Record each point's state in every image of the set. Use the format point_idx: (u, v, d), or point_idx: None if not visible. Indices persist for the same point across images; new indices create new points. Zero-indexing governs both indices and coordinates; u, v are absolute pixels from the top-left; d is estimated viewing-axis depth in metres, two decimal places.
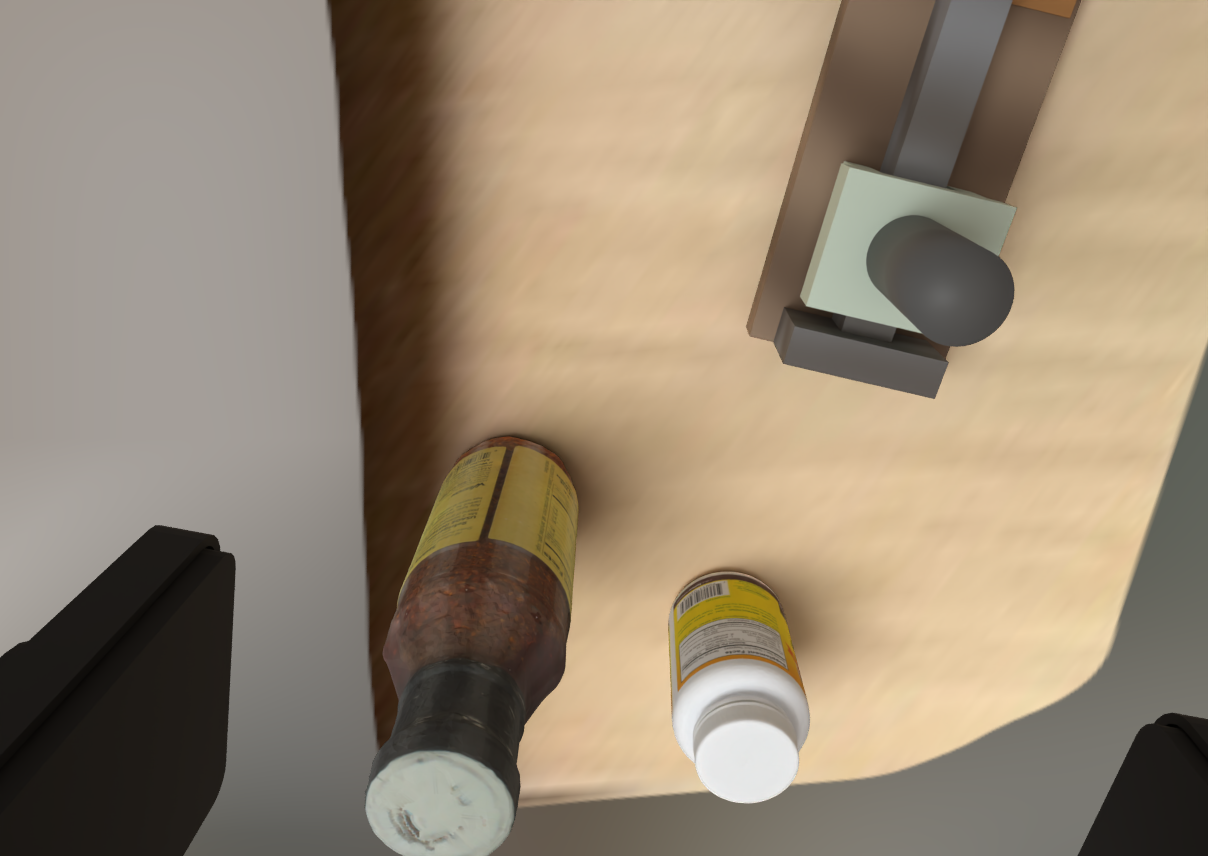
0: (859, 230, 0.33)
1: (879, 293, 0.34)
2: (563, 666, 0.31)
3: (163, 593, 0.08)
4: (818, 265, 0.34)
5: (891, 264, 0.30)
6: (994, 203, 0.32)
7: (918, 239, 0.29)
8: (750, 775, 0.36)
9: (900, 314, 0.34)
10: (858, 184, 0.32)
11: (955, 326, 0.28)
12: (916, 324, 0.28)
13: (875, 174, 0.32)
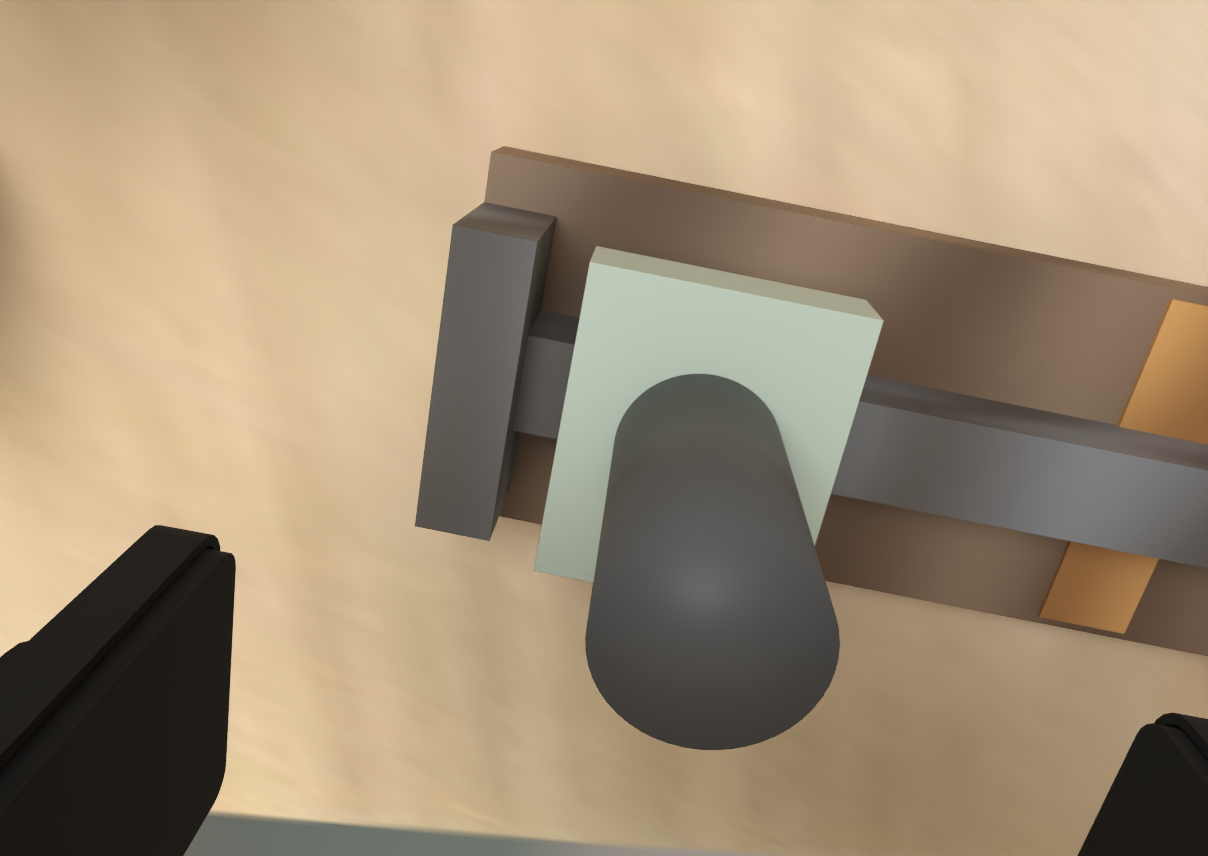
0: (753, 353, 0.16)
1: (623, 407, 0.17)
2: None
3: (163, 593, 0.08)
4: (678, 278, 0.16)
5: (732, 447, 0.13)
6: None
7: (797, 500, 0.13)
8: None
9: (583, 451, 0.17)
10: (848, 342, 0.16)
11: (636, 642, 0.11)
12: (638, 556, 0.11)
13: (865, 371, 0.16)
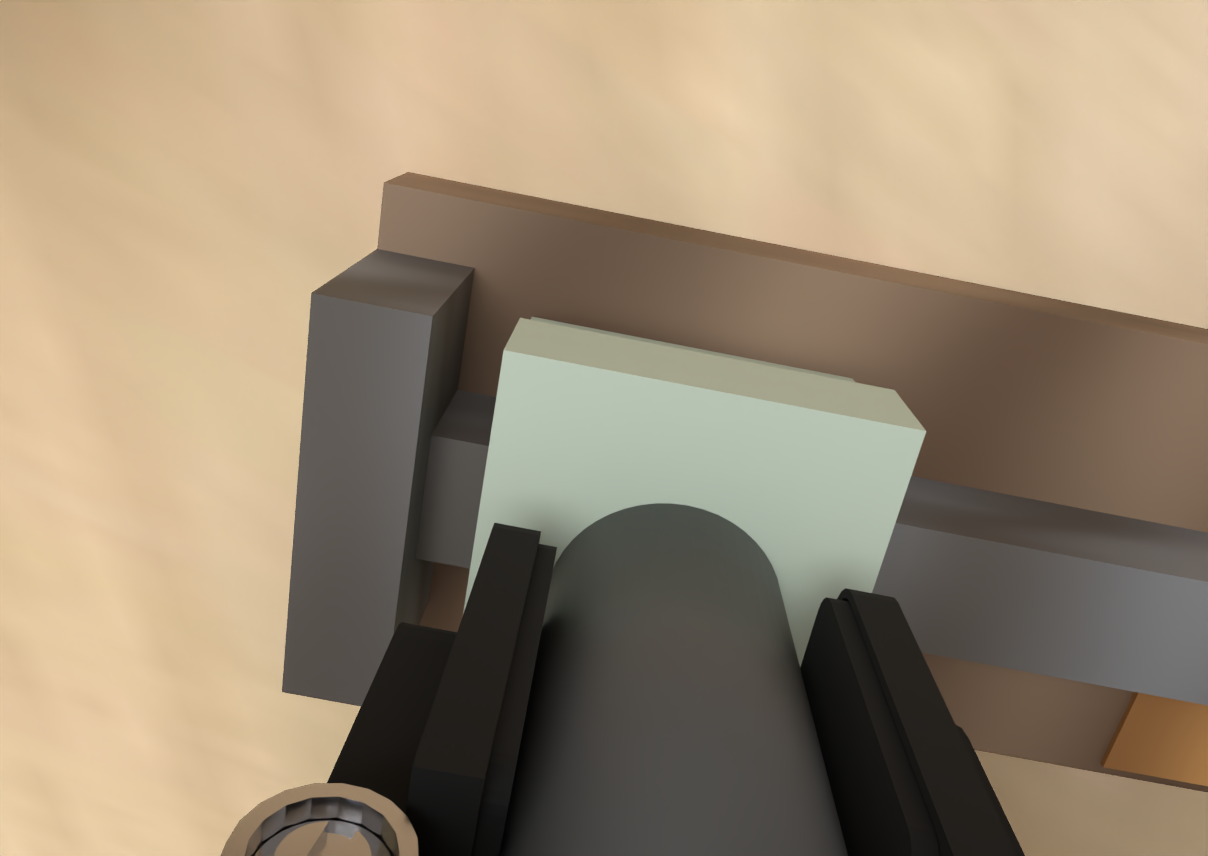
0: (740, 476, 0.11)
1: (558, 547, 0.12)
2: None
3: (531, 581, 0.09)
4: (631, 372, 0.11)
5: (711, 667, 0.08)
6: None
7: (813, 750, 0.08)
8: None
9: None
10: (875, 460, 0.11)
11: None
12: None
13: (899, 500, 0.11)
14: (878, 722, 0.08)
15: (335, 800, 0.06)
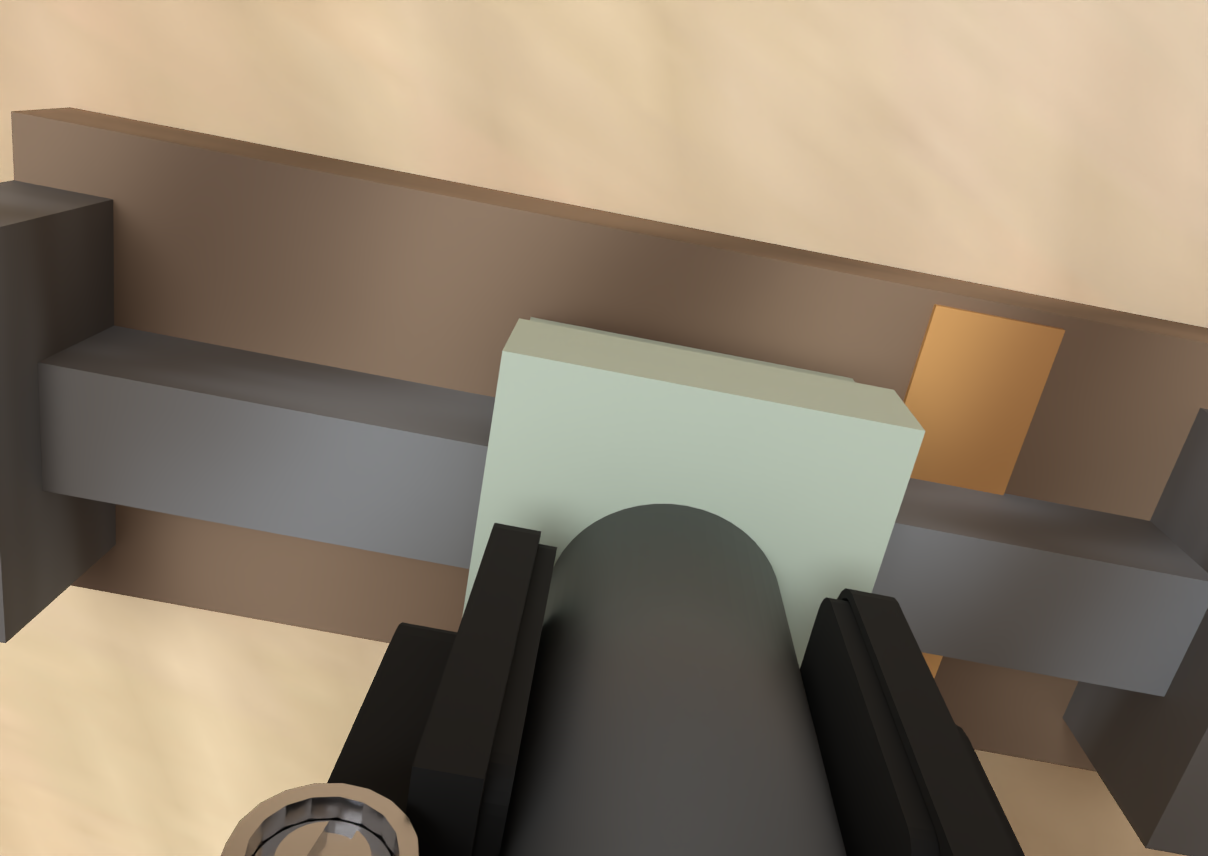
0: (739, 477, 0.11)
1: (557, 548, 0.12)
2: None
3: (531, 581, 0.09)
4: (630, 373, 0.11)
5: (710, 668, 0.08)
6: None
7: (812, 752, 0.08)
8: None
9: None
10: (874, 461, 0.11)
11: None
12: None
13: (898, 500, 0.11)
14: (878, 722, 0.08)
15: (335, 800, 0.06)
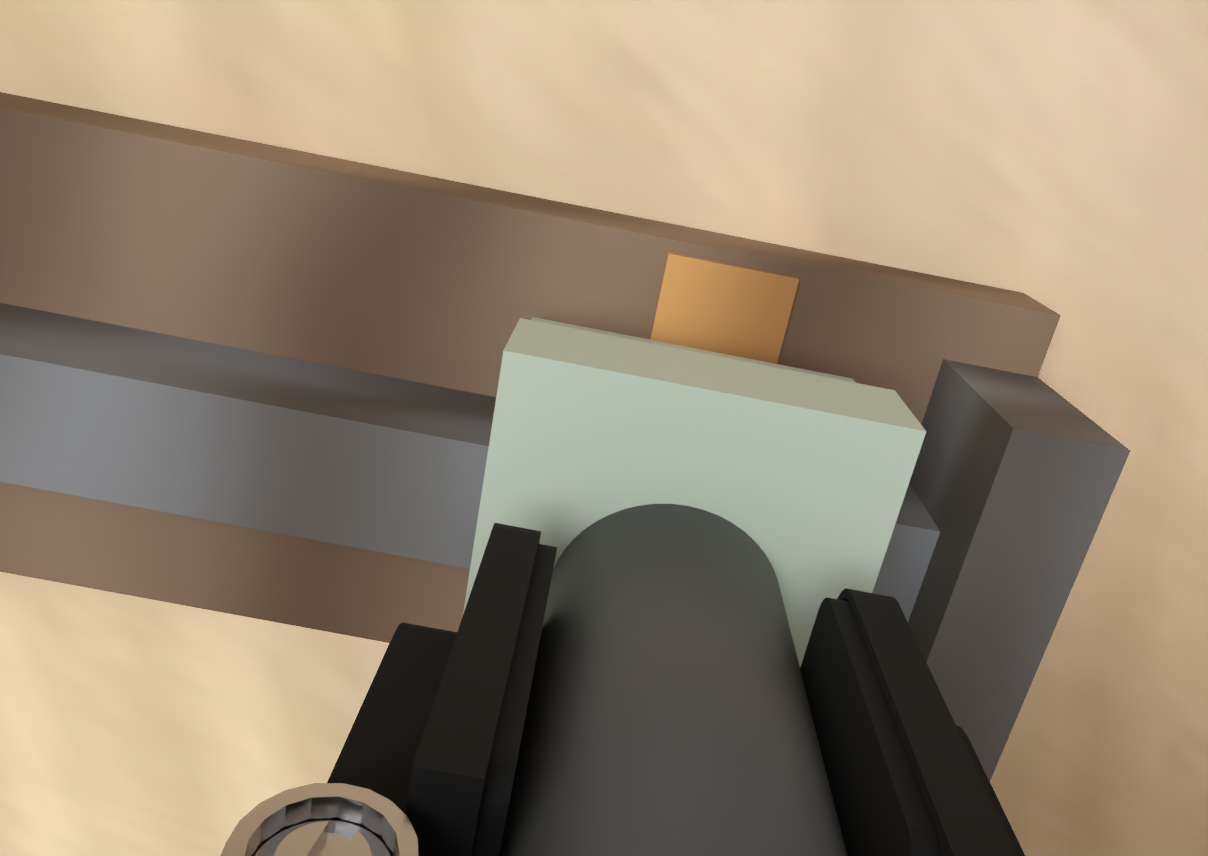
0: (740, 477, 0.11)
1: (558, 548, 0.12)
2: None
3: (531, 581, 0.09)
4: (631, 373, 0.11)
5: (710, 668, 0.08)
6: None
7: (813, 752, 0.08)
8: None
9: None
10: (875, 461, 0.11)
11: None
12: None
13: (899, 501, 0.11)
14: (878, 722, 0.08)
15: (336, 800, 0.06)
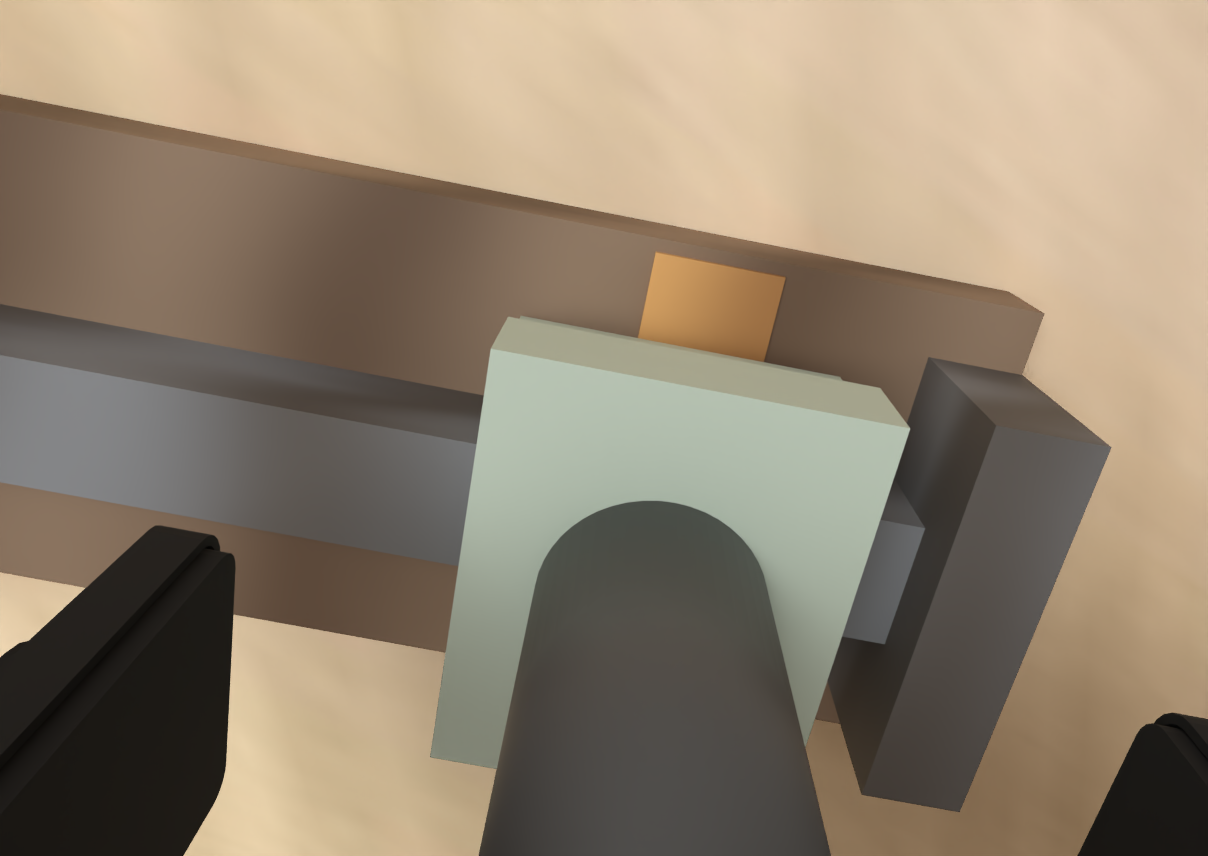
0: (726, 474, 0.11)
1: (546, 545, 0.12)
2: None
3: (163, 593, 0.08)
4: (618, 370, 0.11)
5: (695, 661, 0.08)
6: None
7: (796, 745, 0.08)
8: None
9: (491, 604, 0.12)
10: (859, 458, 0.11)
11: None
12: None
13: (884, 497, 0.11)
14: None
15: None
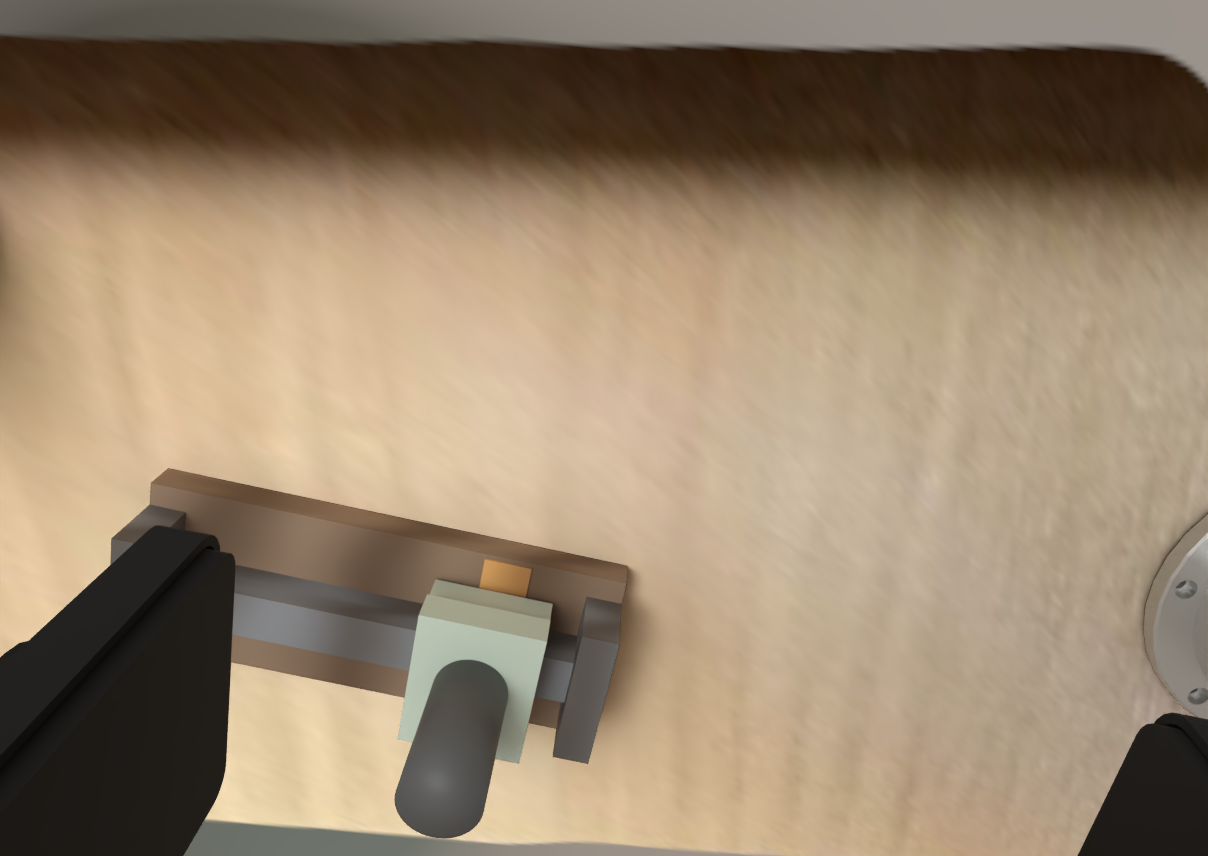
0: (492, 652, 0.36)
1: (436, 671, 0.37)
2: None
3: (164, 593, 0.08)
4: (457, 621, 0.36)
5: (463, 715, 0.33)
6: (521, 747, 0.38)
7: (487, 737, 0.33)
8: None
9: (418, 689, 0.37)
10: (532, 649, 0.36)
11: (413, 801, 0.31)
12: (411, 773, 0.31)
13: (541, 661, 0.36)
14: None
15: None
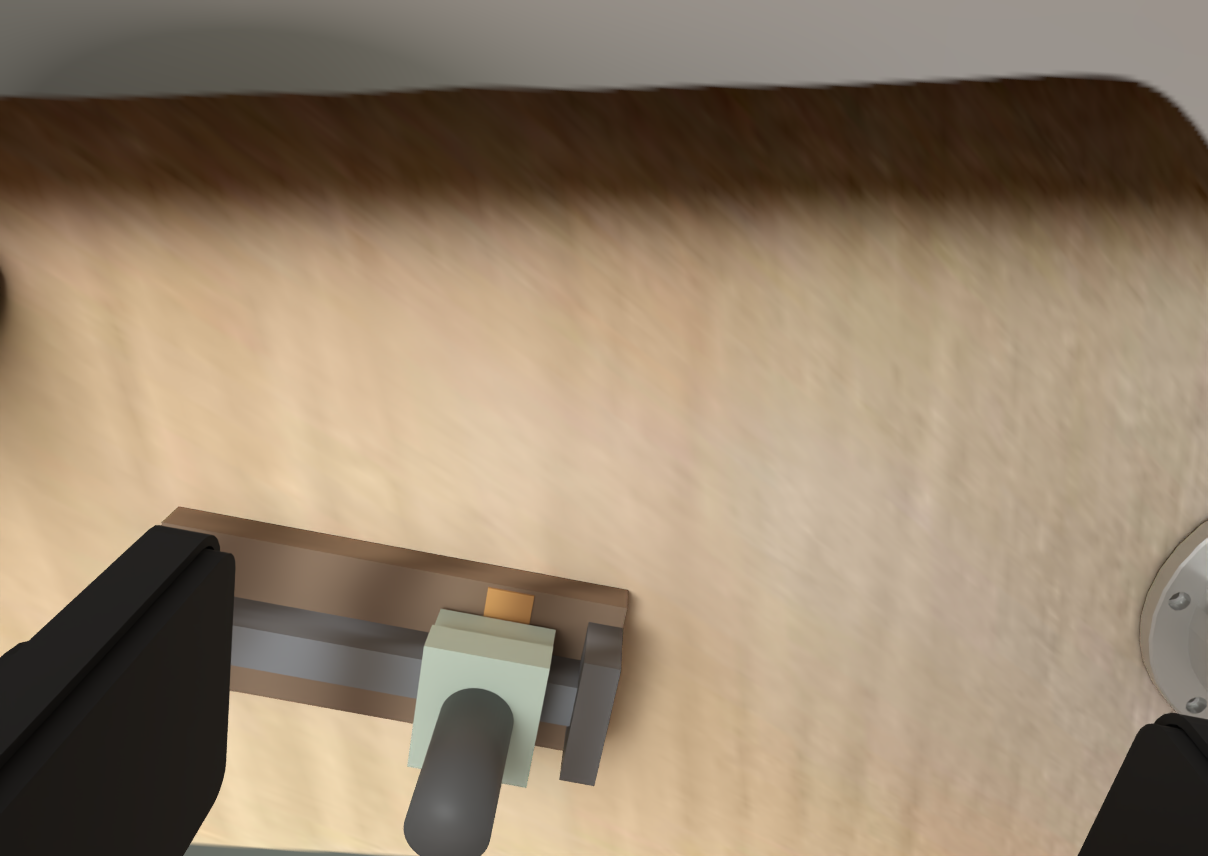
0: (496, 680, 0.37)
1: (442, 700, 0.38)
2: None
3: (163, 593, 0.08)
4: (462, 651, 0.37)
5: (469, 744, 0.34)
6: (528, 772, 0.39)
7: (492, 765, 0.34)
8: None
9: (426, 718, 0.38)
10: (535, 676, 0.37)
11: (421, 830, 0.32)
12: (419, 803, 0.32)
13: (545, 687, 0.37)
14: None
15: None
